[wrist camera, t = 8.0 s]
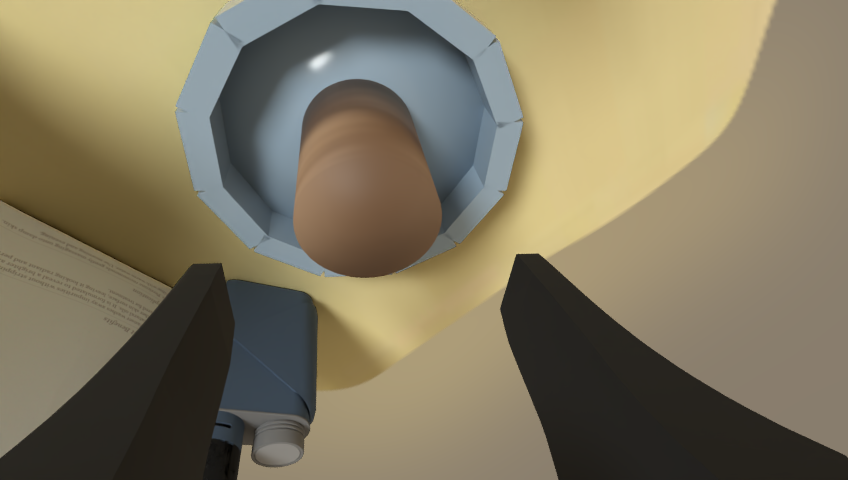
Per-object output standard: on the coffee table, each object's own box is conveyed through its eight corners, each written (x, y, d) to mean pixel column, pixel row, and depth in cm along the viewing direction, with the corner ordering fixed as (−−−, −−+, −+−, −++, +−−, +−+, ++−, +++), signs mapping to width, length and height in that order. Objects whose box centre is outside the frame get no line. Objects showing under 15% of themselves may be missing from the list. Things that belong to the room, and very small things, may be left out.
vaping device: (217, 272, 22) (140, 558, 13) (323, 293, 24) (322, 553, 15) (209, 308, 23) (132, 590, 14) (310, 324, 25) (300, 581, 16)
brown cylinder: (303, 179, 19) (295, 278, 14) (300, 74, 16) (289, 154, 12) (406, 182, 20) (430, 276, 15) (420, 83, 17) (453, 161, 13)
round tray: (225, 245, 21) (216, 280, 19) (160, -62, 14) (135, -52, 12) (473, 239, 23) (486, 270, 22) (531, -26, 16) (557, -13, 14)
